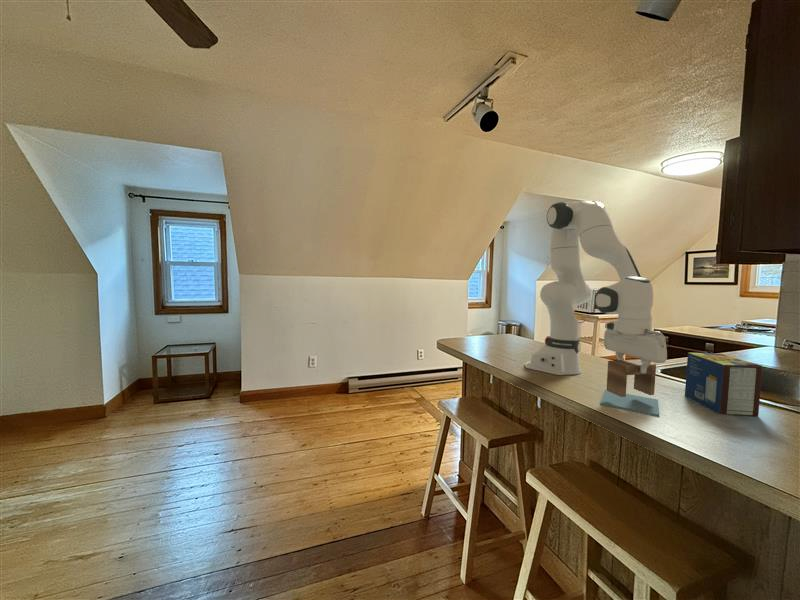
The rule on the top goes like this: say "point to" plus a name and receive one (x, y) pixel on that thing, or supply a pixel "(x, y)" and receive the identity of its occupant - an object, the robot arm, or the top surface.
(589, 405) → the top surface
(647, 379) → the brown block
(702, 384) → the protein box
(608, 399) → the rubber mat
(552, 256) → the robot arm
